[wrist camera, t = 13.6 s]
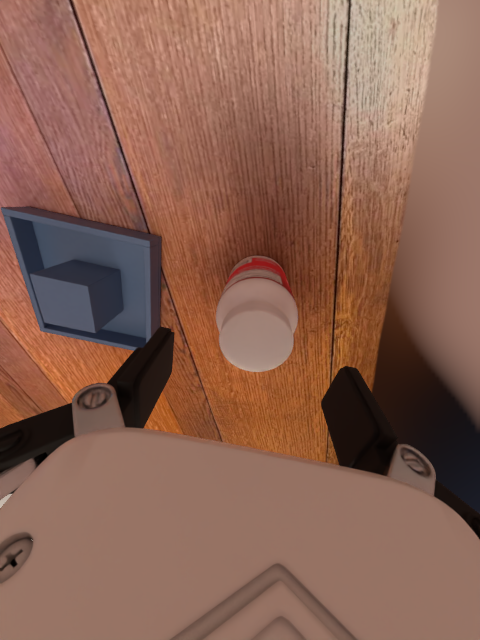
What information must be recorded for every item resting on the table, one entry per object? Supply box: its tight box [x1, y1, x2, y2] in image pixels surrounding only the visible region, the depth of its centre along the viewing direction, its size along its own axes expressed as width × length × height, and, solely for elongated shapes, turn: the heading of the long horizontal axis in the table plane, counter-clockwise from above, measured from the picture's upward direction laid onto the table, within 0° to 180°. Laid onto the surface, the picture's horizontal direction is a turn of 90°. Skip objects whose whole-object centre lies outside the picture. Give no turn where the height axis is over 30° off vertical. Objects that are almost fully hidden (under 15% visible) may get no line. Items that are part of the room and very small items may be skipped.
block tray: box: [1, 207, 161, 351], centre depth 23 cm, size 13×13×3 cm
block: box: [30, 260, 123, 333], centre depth 22 cm, size 5×5×5 cm
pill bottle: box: [216, 256, 298, 372], centre depth 18 cm, size 6×6×11 cm
